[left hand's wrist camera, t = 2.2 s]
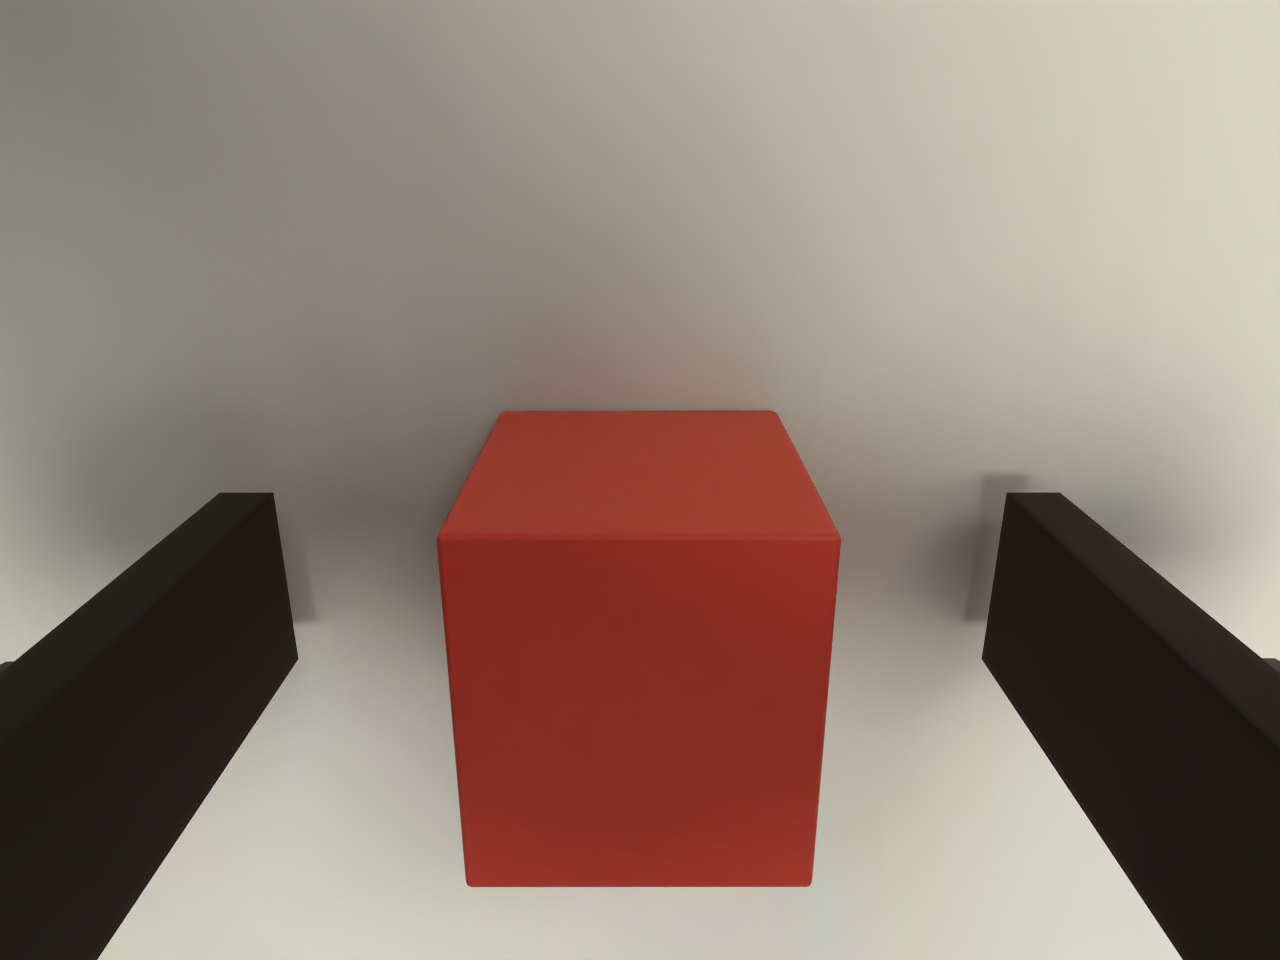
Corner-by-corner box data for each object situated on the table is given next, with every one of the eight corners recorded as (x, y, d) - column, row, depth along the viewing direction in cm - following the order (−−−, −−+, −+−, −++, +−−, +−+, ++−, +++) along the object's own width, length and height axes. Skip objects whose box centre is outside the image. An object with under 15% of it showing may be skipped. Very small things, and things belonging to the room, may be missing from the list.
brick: (762, 676, 15) (812, 889, 11) (514, 676, 15) (465, 889, 11) (777, 410, 13) (843, 535, 9) (500, 410, 13) (434, 535, 9)
